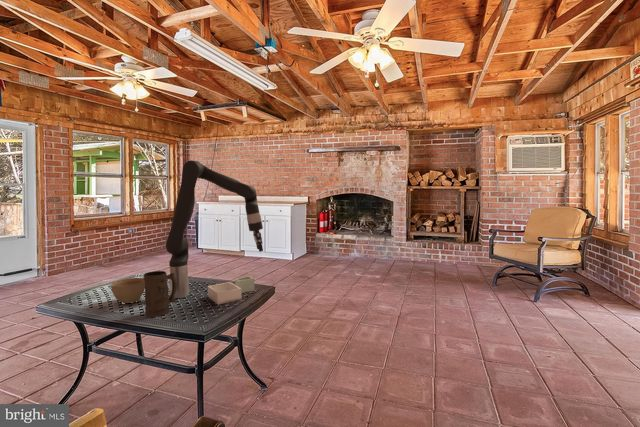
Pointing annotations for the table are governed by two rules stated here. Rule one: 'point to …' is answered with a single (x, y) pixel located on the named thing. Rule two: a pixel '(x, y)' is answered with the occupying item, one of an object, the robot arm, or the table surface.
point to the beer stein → (158, 293)
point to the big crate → (224, 293)
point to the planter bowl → (128, 289)
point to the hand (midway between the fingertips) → (260, 250)
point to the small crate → (245, 284)
